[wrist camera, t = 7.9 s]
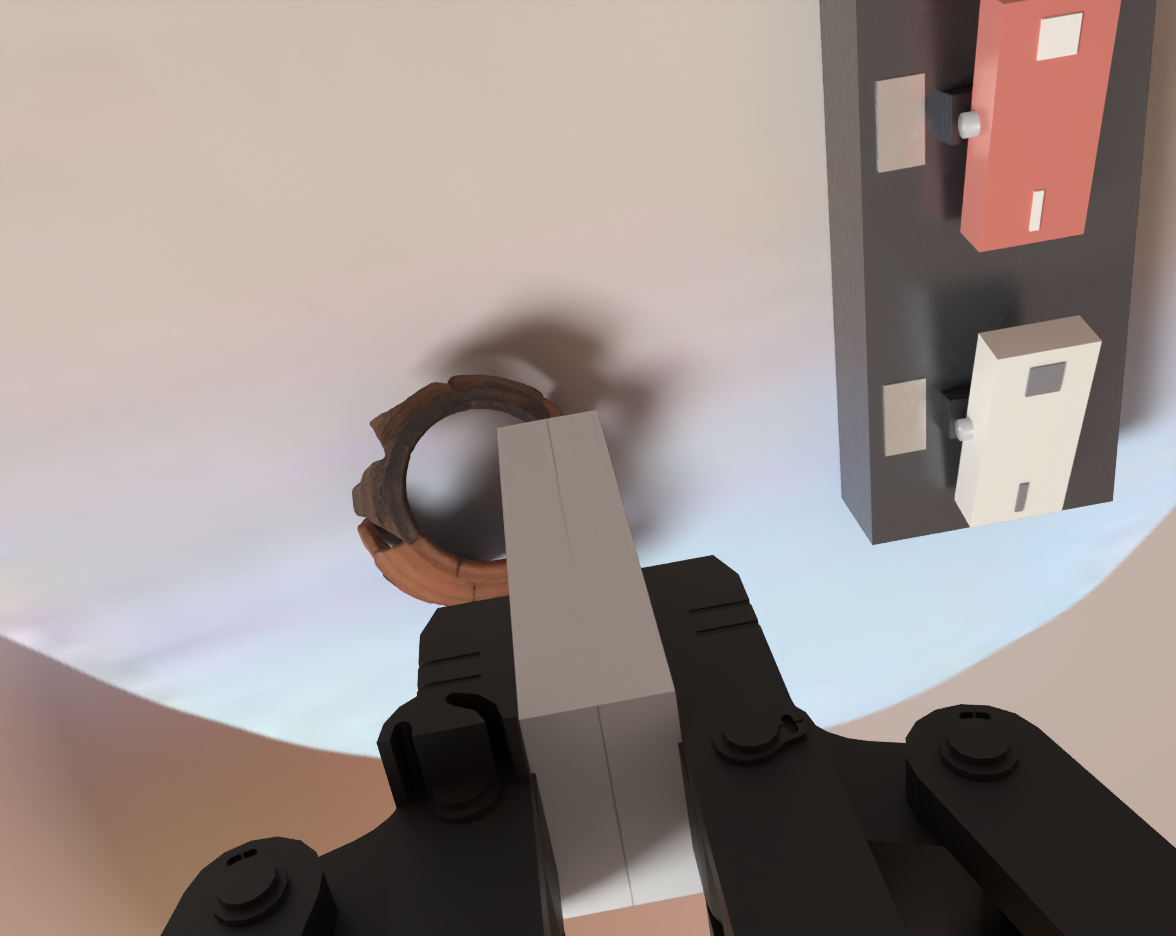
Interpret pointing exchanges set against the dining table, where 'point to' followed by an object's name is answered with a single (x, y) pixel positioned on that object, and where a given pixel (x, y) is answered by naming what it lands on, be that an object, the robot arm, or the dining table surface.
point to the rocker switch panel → (954, 256)
